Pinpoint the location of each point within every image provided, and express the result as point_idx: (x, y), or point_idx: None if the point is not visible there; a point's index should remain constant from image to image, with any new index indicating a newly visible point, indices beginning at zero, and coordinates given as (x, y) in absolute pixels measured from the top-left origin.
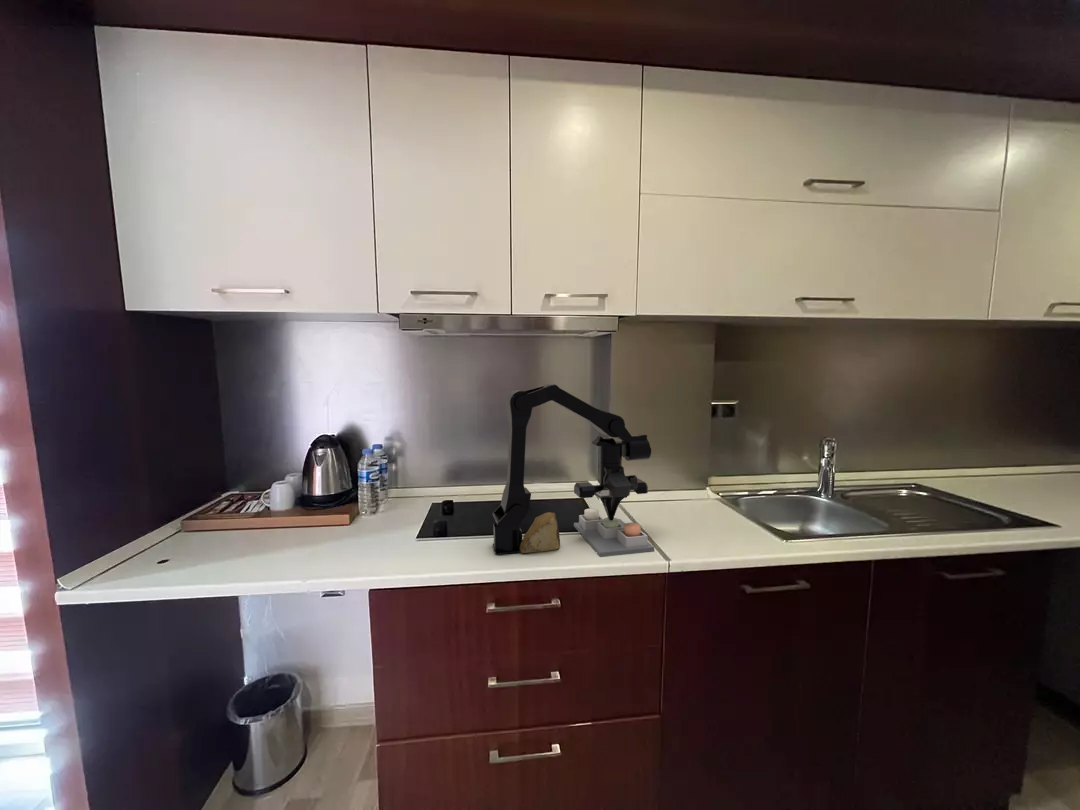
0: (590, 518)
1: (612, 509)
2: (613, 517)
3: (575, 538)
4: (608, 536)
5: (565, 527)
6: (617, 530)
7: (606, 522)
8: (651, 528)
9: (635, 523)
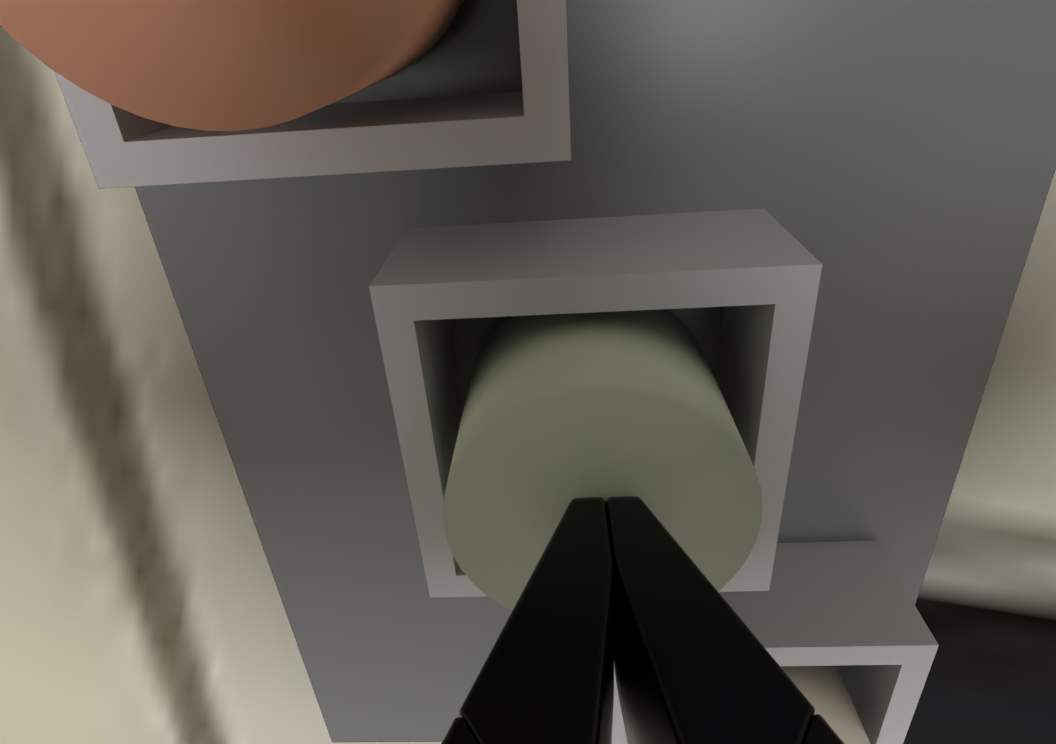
0: (825, 705)
1: (602, 716)
2: (565, 529)
3: (1053, 413)
4: (703, 222)
5: (956, 694)
6: (535, 261)
7: (740, 436)
8: (7, 524)
9: (40, 13)
